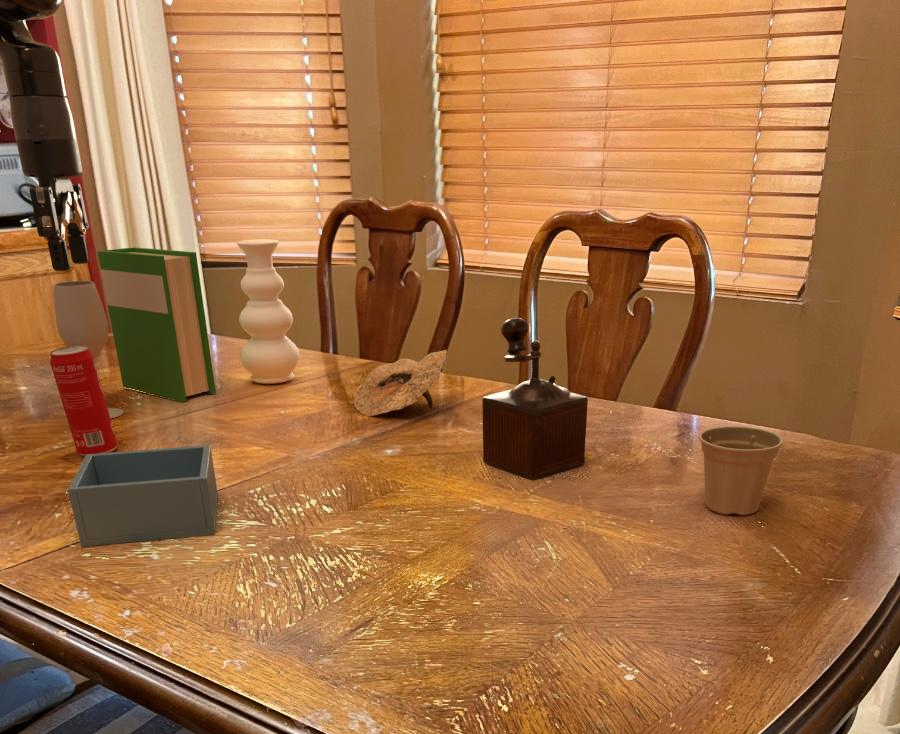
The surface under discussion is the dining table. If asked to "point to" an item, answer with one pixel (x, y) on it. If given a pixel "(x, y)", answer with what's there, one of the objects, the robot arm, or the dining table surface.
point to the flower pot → (737, 467)
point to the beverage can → (83, 399)
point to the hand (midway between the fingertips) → (72, 266)
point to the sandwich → (398, 384)
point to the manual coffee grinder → (533, 418)
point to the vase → (265, 317)
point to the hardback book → (158, 321)
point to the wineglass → (82, 319)
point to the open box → (144, 495)
